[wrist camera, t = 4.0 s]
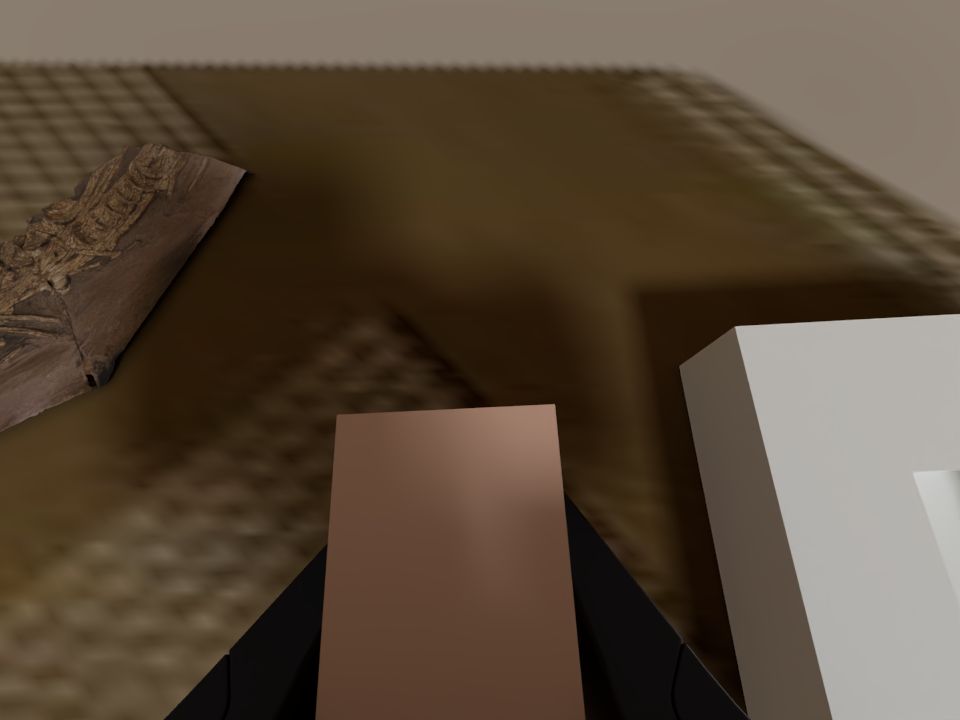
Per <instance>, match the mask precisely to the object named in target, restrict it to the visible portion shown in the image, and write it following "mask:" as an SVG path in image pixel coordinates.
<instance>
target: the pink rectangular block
mask: <svg viewBox="0 0 960 720" xmlns="http://www.w3.org/2000/svg"><path fill="white" fill-rule="evenodd" d="M315 720H585V711H584V701H583V690H582V680H581V669H580V659H579V649H578V638H577V628H576V617H575V607H574V597H573V586H572V576H571V566H570V555H569V545H568V534H567V524H566V514H565V503H564V493H563V482H562V472H561V462H560V451H559V441H558V430H557V420H556V410H555V404H548V405H528V406H507V407H486V408H466V409H445V410H424V411H404V412H383V413H362V414H342V415H337V420H336V434H335V449H334V463H333V477H332V491H331V506H330V520H329V534H328V548H327V563H326V577H325V591H324V605H323V620H322V634H321V648H320V662H319V677H318V691H317V705H316V719H315Z"/></svg>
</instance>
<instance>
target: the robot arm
mask: <svg viewBox="0 0 960 720" xmlns="http://www.w3.org/2000/svg"><path fill="white" fill-rule="evenodd" d="M563 493H564V503H565V514H566V524H567V534H568V545H569V555H570V566H571V576H572V586H573V597H574V607H575V617H576V628H577V638H578V649H579V659H580V669H581V680H582V690H583V701H584V711H585V720H751V719H750V718H749V717H748V716H747V715H746V714H745V713H744V712H743V711H742V709H741V708H740V707H739V706H738V705H737V704H736V703H735V702H734V700H733V699H732V698H731V697H730V696H729V694H728V693H727V692H726V691H725V690H724V689H723V687H722V686H721V685H720V684H719V683H718V681H717V680H716V679H715V678H714V677H713V675H712V674H711V673H710V672H709V671H708V670H707V668H706V667H705V666H704V665H703V663H702V662H701V661H700V660H699V658H698V657H697V656H696V655H695V653H694V652H693V651H692V650H691V648H690V647H689V646H688V645H687V644H686V643H683V644H682V642H683V639H682V637H681V636H680V635H679V634H678V632H677V631H676V630H675V629H674V627H673V626H672V625H671V624H670V623H669V621H668V620H667V619H666V618H665V616H664V615H663V614H662V613H661V611H660V610H659V609H658V608H657V606H656V605H655V604H654V603H653V601H652V600H651V599H650V598H649V596H648V595H647V594H646V593H645V591H644V590H643V589H642V588H641V586H640V585H639V584H638V583H637V581H636V580H635V579H634V578H633V576H632V575H631V574H630V573H629V571H628V570H627V569H626V568H625V567H624V565H623V564H622V563H621V562H620V560H619V559H618V558H617V557H616V555H615V554H614V553H613V552H612V550H611V549H610V548H609V547H608V545H607V544H606V543H605V542H604V540H603V539H602V538H601V537H600V535H599V534H598V533H597V532H596V530H595V529H594V528H593V527H592V525H591V524H590V523H589V522H588V520H587V519H586V518H585V517H584V515H583V514H582V513H581V512H580V511H579V509H578V508H577V507H576V506H575V504H574V503H573V502H572V501H571V499H570V498H569V497H568V496H567V494H566V493H565V492H564V491H563ZM327 548H328V543H327V545H326V546H325V547H324V548H323V549H322V550H321V551H320V552H319V553H318V554H317V555H316V556H315V558H314V559H313V560H312V561H311V562H310V563H309V564H308V565H307V566H306V567H305V568H304V570H303V571H302V572H301V573H300V574H299V575H298V576H297V577H296V578H295V579H294V580H293V582H292V583H291V584H290V585H289V586H288V587H287V588H286V589H285V590H284V591H283V592H282V594H281V595H280V596H279V597H278V598H277V599H276V600H275V601H274V602H273V603H272V604H271V605H270V607H269V608H268V609H267V610H266V611H265V612H264V613H263V614H262V615H261V616H260V617H259V619H258V620H257V621H256V622H255V623H254V624H253V625H252V626H251V627H250V628H249V629H248V631H247V632H246V633H245V634H244V635H243V636H242V637H241V638H240V639H239V640H238V641H237V643H236V644H235V645H234V646H233V647H232V648H231V649H230V651H229V655H228V654H226V655H224V656H223V658H222V659H221V660H220V661H219V662H218V663H217V664H216V665H215V666H214V667H213V668H212V669H211V671H210V672H209V673H208V674H207V675H206V676H205V677H204V678H203V679H202V680H201V681H200V682H199V683H198V684H197V686H196V687H195V688H194V689H193V690H192V691H191V692H190V693H189V694H188V695H187V696H186V697H185V698H184V699H183V700H182V701H181V702H180V703H179V704H178V706H177V707H176V708H175V709H174V710H173V711H172V712H171V713H170V714H169V715H168V716H167V717H166V718H165V719H164V720H315V719H316V705H317V691H318V677H319V662H320V648H321V634H322V620H323V605H324V591H325V577H326V563H327Z"/></svg>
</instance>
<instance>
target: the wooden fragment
mask: <svg viewBox="0 0 960 720" xmlns="http://www.w3.org/2000/svg"><path fill="white" fill-rule="evenodd" d="M245 172H248V173H251V172H249V171H246V170H244V169H242V168H239V167H236V166H233V165H230V164H227V163H224V162H222V161H219V160H217V159H215V158H213V157H211V156H208V155H202V154H194V153H188V152H177V151H175V150H173V149H171V148H167V147H165V146H162V145H161V144H160V143H151V142H150V143H147V144H145V145H144V146H143V147H142V148H141V147H133V146H123V148H122V150H121V152H120V155H118V156H116V157H115V158H113V159H111V160H109V161H108V162H107V163H106V164H104V165H102V166H101V167H99V168H98V169H96V170H95V171H93V172H91V173H89V174H88V175H87V176H86V177H85V178H84V179H83V180H82V181H81V182H79V184H78V185H77V186H76V187H75V195H76V197H73V198H68V199H64V200H62V201H61V202H53V203H51V204H50V205H48V206H46V207H44V208H42V210H41V212H42V213H41V214H39V215H35V216H31V217H30V218H29V219H28V220H27V223H28V227H27V230H26V233H27V235H16V236H15V237H14V239H13V240H12V241H5V242H4V243H0V432H1V431H4V430H5V429H7V428H9V427H12V426H14V425H16V424H18V423H20V422H21V421H23V420H25V419H27V418H29V417H31V416H36V415H38V414H39V413H38V412H41V413H42V412H43V410H44V408H45V409H48V408H51V407H53V406H56V405H59V404H61V403H63V402H65V401H67V400H69V399H71V398H73V397H75V396H77V395H80V394H83V393H86V392H89V391H91V390H94V389H97V388H101V387H102V386H103V385H105V384H106V383H107V382H108V379H109V377H110V375H111V373H112V372H113V368H114V364H115V359H116V358H117V357H118V356H119V355H120V354H121V353H122V351H123V350H124V348H125V347H126V345H127V344H128V342H129V341H130V340H131V338H132V337H133V335H134V333H135V332H136V331H137V330H138V328H139V326H140V325H141V323H142V322H143V321H144V320H145V318H146V317H147V316H148V314H149V313H150V311H151V310H152V309H153V307H154V306H155V304H156V302H157V300H158V299H159V298H160V297H161V296H162V294H163V293H164V291H165V289H166V288H167V287H168V286H169V284H170V283H171V282H172V280H173V278H174V277H175V276H176V274H177V273H178V271H179V270H180V269H181V268H182V267H183V265H184V264H185V262H186V260H187V259H188V257H189V256H190V255H191V253H192V252H193V251H194V250H195V248H196V245H197V244H198V243H199V242H200V240H201V239H202V238H203V236H204V235H205V234H206V232H207V230H209V228H210V226H212V225H213V223H214V222H215V217H218V216H219V214H220V212H221V211H222V210H223V208H224V207H225V205H226V203H227V201H228V199H229V197H230V196H231V194H232V193H233V191H234V189H235V187H236V185H237V184H238V182H239V181H240V179H241V178H242V176H243V175H244V173H245ZM252 174H253V173H252ZM255 175H256V174H255ZM87 374H91V375H93V376H94V380H95V382H92V383H97V384H96V386H97V388H92V387H90V386H89V385H88V384H90V383H89V382H87V380H88V378H87V377H86V375H87Z"/></svg>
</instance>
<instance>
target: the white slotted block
mask: <svg viewBox="0 0 960 720" xmlns="http://www.w3.org/2000/svg"><path fill="white" fill-rule="evenodd" d="M679 368H680V373H681V379H682V384H683V389H684V394H685V399H686V404H687V409H688V414H689V419H690V424H691V429H692V434H693V439H694V445H695V450H696V455H697V460H698V465H699V470H700V475H701V480H702V485H703V490H704V495H705V500H706V505H707V511H708V516H709V521H710V526H711V531H712V536H713V541H714V546H715V551H716V556H717V561H718V566H719V571H720V576H721V582H722V587H723V592H724V597H725V602H726V607H727V612H728V617H729V622H730V627H731V632H732V637H733V642H734V648H735V653H736V658H737V663H738V668H739V673H740V678H741V683H742V688H743V693H744V698H745V703H746V708H747V714H748V717H749V718H750V719H751V720H960V314H951V315H933V316H915V317H897V318H878V319H860V320H842V321H824V322H806V323H788V324H769V325H751V326H735V327H733V328H732V329H731V330H729V331H728V332H726V333H725V334H724V335H722V336H721V337H719V338H718V339H717V340H715V341H714V342H712V343H711V344H710V345H708V346H707V347H705V348H704V349H703V350H701V351H700V352H698V353H697V354H696V355H694V356H693V357H691V358H690V359H689V360H687V361H686V362H684V363H683V364H682V365H680V366H679Z"/></svg>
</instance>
